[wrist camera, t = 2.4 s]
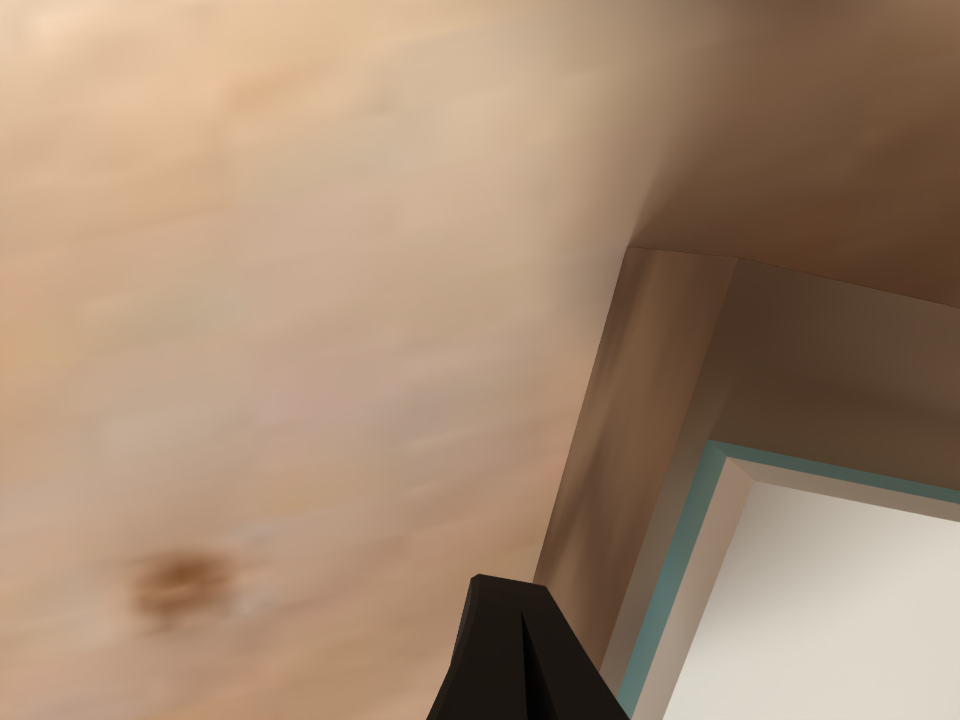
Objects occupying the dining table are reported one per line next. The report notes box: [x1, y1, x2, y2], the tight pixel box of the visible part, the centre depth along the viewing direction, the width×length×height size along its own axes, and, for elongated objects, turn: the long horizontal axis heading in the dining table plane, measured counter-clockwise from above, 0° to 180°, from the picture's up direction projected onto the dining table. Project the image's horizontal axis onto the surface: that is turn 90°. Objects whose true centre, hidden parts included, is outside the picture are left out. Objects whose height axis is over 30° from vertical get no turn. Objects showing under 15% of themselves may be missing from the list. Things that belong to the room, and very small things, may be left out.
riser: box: [533, 247, 960, 698], centre depth 13 cm, size 14×12×6 cm
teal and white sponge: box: [616, 439, 960, 720], centre depth 9 cm, size 8×5×2 cm, turn 168°
